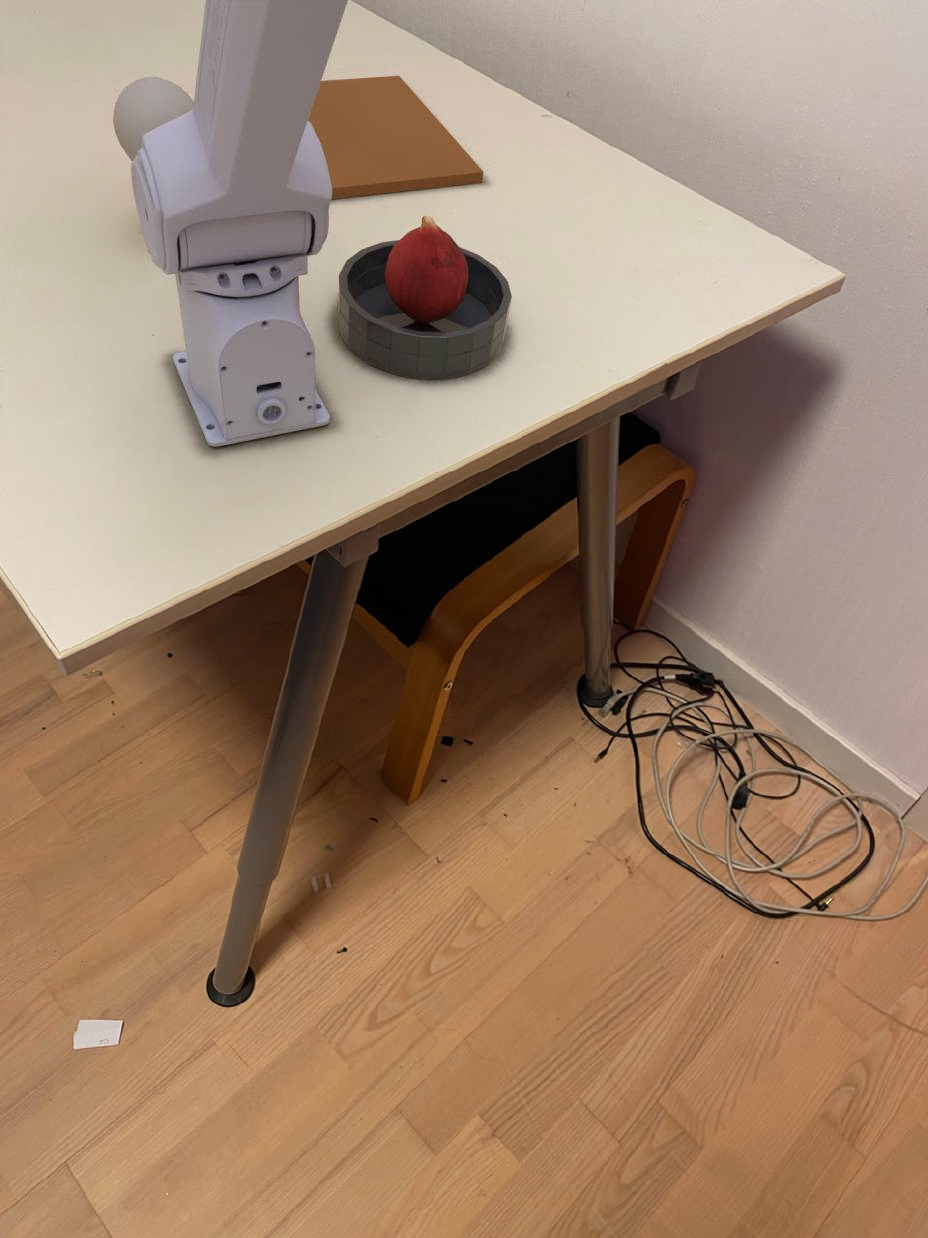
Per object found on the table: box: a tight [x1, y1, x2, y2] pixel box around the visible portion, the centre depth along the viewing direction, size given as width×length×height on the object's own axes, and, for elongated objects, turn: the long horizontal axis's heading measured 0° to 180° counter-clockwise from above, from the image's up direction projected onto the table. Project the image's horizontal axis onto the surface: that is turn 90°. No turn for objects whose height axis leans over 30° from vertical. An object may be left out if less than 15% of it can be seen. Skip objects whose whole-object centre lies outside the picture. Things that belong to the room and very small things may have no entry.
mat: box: [308, 75, 484, 200], centre depth 85 cm, size 20×16×1 cm
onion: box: [385, 215, 468, 324], centre depth 64 cm, size 6×6×8 cm
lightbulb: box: [112, 76, 194, 163], centre depth 68 cm, size 6×6×11 cm
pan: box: [337, 239, 513, 381], centre depth 66 cm, size 12×12×4 cm
